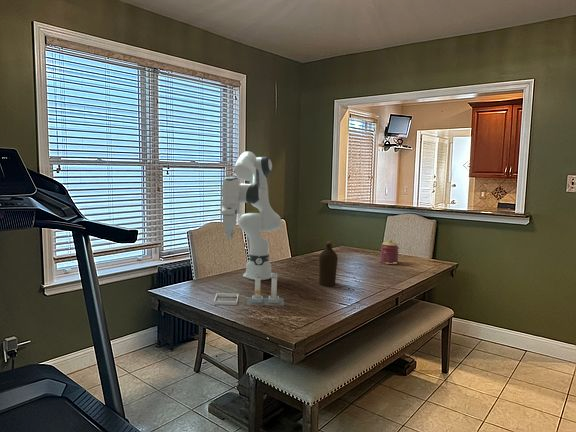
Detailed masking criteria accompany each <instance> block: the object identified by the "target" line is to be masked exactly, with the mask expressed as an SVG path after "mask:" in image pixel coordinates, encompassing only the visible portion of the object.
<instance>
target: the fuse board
mask: <svg viewBox="0 0 576 432" xmlns="http://www.w3.org/2000/svg"><path fill="white" fill-rule="evenodd" d="M254 297H255V294H253V295H251V296H248V297H246V305H248V306H250V305H251V306H285V302H284V297H279V295H276V297H277V299H271V295H268V297H263V295H260V298H254Z"/></svg>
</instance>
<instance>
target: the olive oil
mask: <svg viewBox="0 0 576 432" xmlns="http://www.w3.org/2000/svg"><path fill="white" fill-rule="evenodd" d="M325 243H326V244H325V248H324V250H322V251H321V252H320V254H319V256H318V284H319V285H320V286H323V285H324V287H333V285H334V286H335V285H336V280H337V278H336V277H337V268H338V255H337V253H336V252H335V250H334V249H333V244H332V243H333V242H332V241H329V240H328V241H326V242H325Z"/></svg>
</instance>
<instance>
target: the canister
mask: <svg viewBox="0 0 576 432" xmlns="http://www.w3.org/2000/svg"><path fill="white" fill-rule="evenodd" d="M399 249H400V247H399V244H398V243H397V242H396V241H393V240H392V239H391V238H389V239H388V241H387V240H386V241H384V242H382V243H381V246H380V253H379V254H380V255H379V256H380V257H379V262H380V261H382V262H389V263H393V262H398V263H399Z"/></svg>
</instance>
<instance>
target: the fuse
mask: <svg viewBox="0 0 576 432" xmlns="http://www.w3.org/2000/svg"><path fill="white" fill-rule="evenodd" d="M270 279H271V290H270V296H271V299H277V297H276V296H277V295H278V293H277V288H278V285H277V284H278V272H271V278H270Z"/></svg>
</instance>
